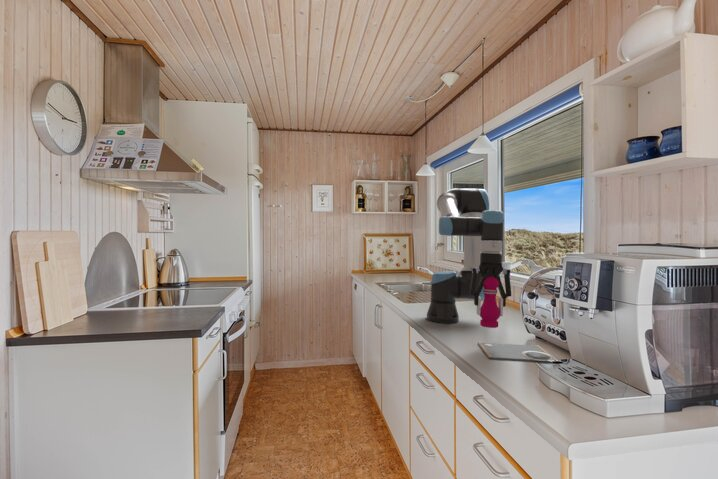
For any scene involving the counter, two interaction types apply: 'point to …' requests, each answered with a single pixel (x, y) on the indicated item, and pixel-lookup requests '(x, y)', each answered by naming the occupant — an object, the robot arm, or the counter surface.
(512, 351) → the slate
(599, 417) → the counter surface
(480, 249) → the robot arm
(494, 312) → the pepper mill
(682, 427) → the counter surface
